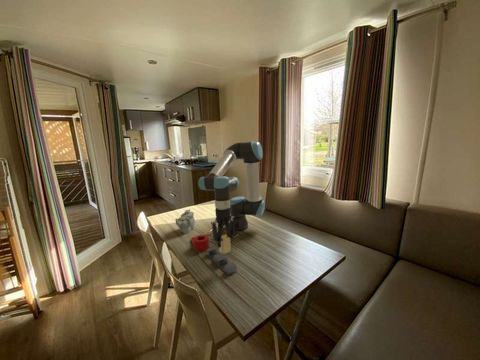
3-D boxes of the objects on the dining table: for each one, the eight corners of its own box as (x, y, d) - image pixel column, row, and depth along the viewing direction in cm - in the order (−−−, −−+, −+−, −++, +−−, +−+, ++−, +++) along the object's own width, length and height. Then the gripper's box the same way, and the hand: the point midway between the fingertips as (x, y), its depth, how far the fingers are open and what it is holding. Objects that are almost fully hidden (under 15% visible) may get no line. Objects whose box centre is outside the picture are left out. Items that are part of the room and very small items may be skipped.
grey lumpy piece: (177, 238, 143) (175, 215, 140) (174, 231, 155) (172, 210, 152) (198, 233, 150) (196, 211, 146) (193, 227, 162) (192, 206, 158)
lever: (211, 248, 129) (211, 238, 127) (198, 253, 123) (197, 243, 122) (199, 238, 143) (198, 229, 141) (186, 242, 137) (185, 233, 136)
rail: (206, 254, 121) (206, 249, 120) (214, 252, 124) (214, 246, 123) (228, 275, 101) (227, 268, 101) (236, 271, 104) (236, 265, 104)
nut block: (219, 250, 106) (219, 236, 105) (226, 248, 108) (225, 234, 107) (223, 254, 103) (222, 239, 101) (230, 251, 105) (229, 237, 104)
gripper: (211, 213, 94) (213, 259, 98) (241, 205, 103) (242, 248, 107) (203, 209, 100) (206, 253, 104) (232, 202, 109) (234, 243, 113)
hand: (225, 250), depth 106 cm, fingers closed on nut block, 4 cm apart
